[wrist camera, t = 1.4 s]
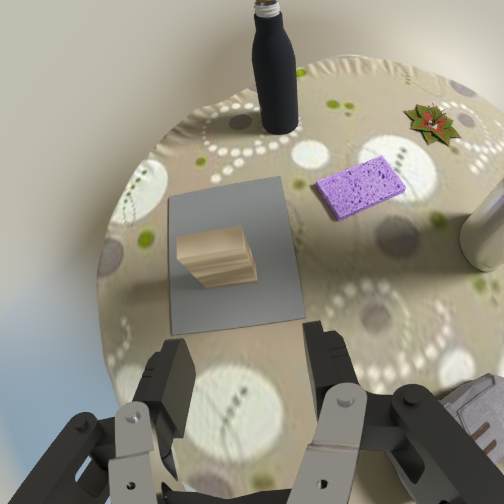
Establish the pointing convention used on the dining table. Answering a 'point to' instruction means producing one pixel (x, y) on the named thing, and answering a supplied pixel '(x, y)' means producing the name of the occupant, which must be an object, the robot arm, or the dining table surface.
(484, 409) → the small grey backpack
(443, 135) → the green leafy rosette
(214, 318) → the rubber mat
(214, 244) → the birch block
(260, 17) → the black water bottle
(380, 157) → the sponges
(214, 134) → the dining table surface
